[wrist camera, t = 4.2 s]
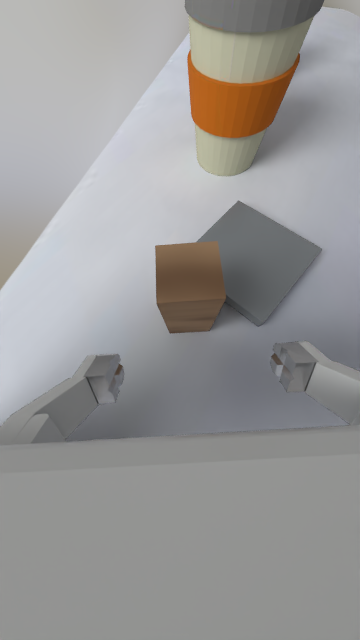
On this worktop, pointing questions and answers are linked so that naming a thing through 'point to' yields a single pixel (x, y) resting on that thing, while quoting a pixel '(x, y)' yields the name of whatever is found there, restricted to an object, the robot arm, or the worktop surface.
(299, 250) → the slate coaster
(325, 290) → the worktop surface
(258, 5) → the reusable coffee cup
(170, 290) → the walnut block
